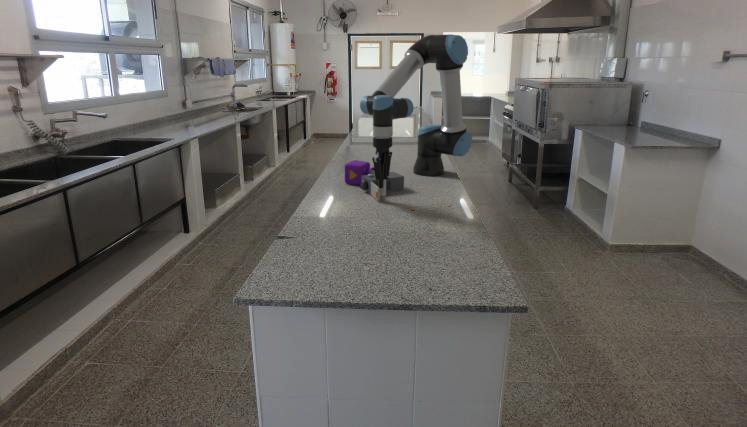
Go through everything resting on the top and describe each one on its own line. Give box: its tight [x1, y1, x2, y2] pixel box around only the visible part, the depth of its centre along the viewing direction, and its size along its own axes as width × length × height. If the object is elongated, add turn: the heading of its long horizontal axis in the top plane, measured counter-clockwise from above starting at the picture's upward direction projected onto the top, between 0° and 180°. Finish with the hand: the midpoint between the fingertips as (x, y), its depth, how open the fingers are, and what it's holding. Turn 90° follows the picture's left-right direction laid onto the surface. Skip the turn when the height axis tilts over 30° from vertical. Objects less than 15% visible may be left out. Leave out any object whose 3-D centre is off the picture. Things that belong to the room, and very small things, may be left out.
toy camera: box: [344, 158, 375, 186], centre depth 220 cm, size 11×14×10 cm
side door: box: [370, 181, 381, 202], centre depth 199 cm, size 10×2×6 cm, turn 16°
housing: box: [360, 171, 405, 195], centre depth 211 cm, size 18×9×7 cm, turn 117°
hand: (382, 195), depth 196 cm, fingers closed
